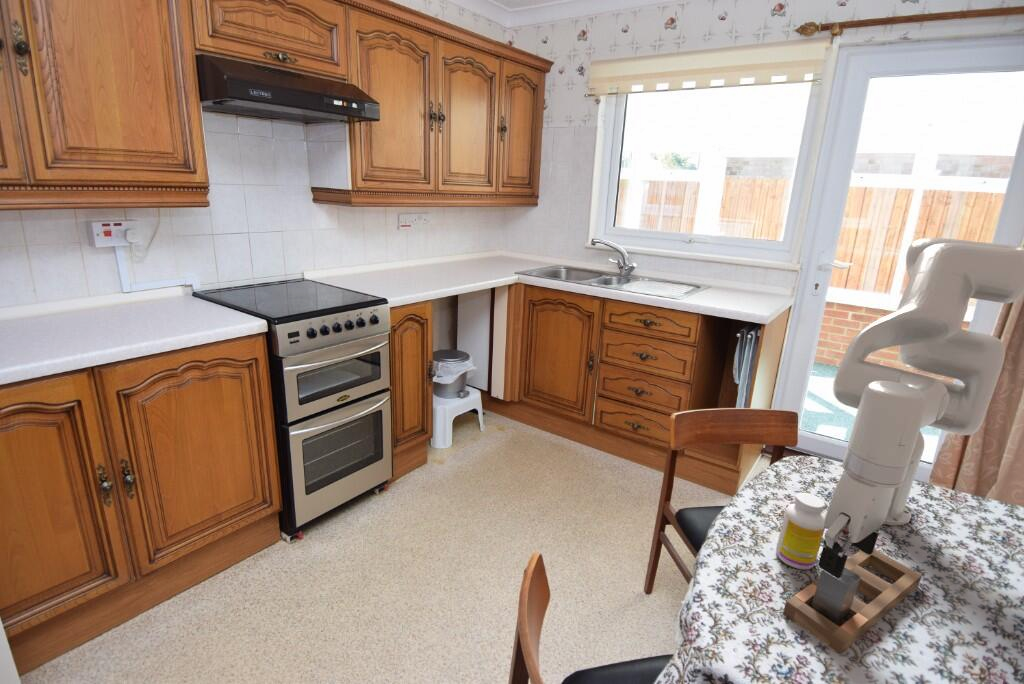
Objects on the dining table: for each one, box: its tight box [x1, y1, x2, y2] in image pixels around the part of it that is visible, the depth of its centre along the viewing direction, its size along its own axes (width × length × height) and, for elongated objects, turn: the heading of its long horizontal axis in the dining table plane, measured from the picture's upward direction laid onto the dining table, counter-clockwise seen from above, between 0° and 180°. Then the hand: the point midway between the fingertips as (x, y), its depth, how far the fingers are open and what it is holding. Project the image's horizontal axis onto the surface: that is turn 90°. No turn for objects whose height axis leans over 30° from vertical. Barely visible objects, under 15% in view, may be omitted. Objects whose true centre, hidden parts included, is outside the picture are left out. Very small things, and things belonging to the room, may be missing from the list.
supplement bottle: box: [775, 492, 826, 570], centre depth 98 cm, size 7×7×13 cm
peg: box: [811, 567, 860, 627], centre depth 85 cm, size 4×4×9 cm
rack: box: [782, 548, 923, 655], centre depth 91 cm, size 28×9×3 cm, turn 124°
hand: (845, 560), depth 83 cm, fingers open, 9 cm apart
